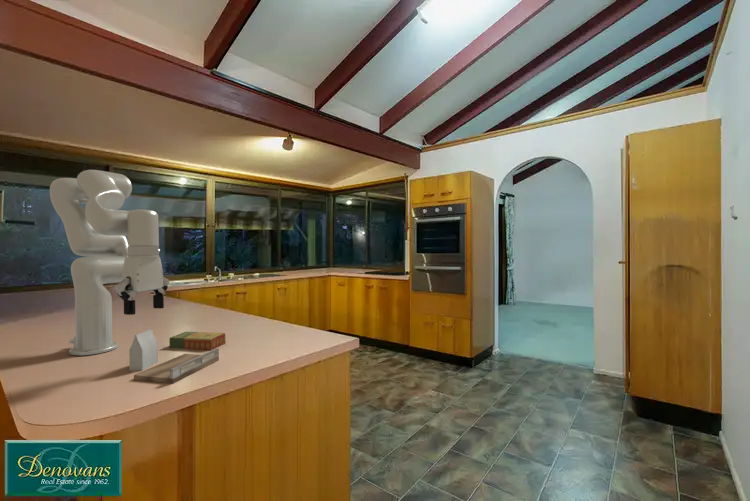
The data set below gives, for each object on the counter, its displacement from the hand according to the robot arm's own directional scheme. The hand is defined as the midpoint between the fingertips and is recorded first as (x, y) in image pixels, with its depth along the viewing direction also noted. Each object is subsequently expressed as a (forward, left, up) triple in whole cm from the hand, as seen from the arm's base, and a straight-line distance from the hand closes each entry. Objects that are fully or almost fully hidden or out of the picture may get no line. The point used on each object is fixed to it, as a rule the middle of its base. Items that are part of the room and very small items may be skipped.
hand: (144, 311), depth 99 cm
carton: (+1, +21, -17) cm, 27 cm away
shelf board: (+11, 0, -16) cm, 20 cm away
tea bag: (-1, 0, -16) cm, 16 cm away
